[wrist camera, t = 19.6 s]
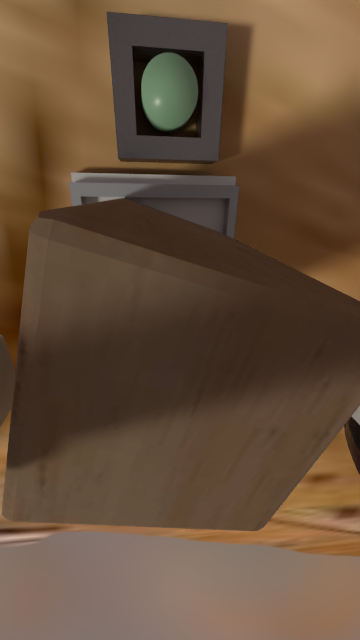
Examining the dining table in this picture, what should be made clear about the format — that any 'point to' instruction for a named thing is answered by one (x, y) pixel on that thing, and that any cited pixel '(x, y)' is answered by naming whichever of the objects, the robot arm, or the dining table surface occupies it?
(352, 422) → the ceramic vessel
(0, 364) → the robot arm
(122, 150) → the button housing
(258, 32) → the dining table surface
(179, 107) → the button
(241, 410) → the wooden block
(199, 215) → the shallow gray tray
